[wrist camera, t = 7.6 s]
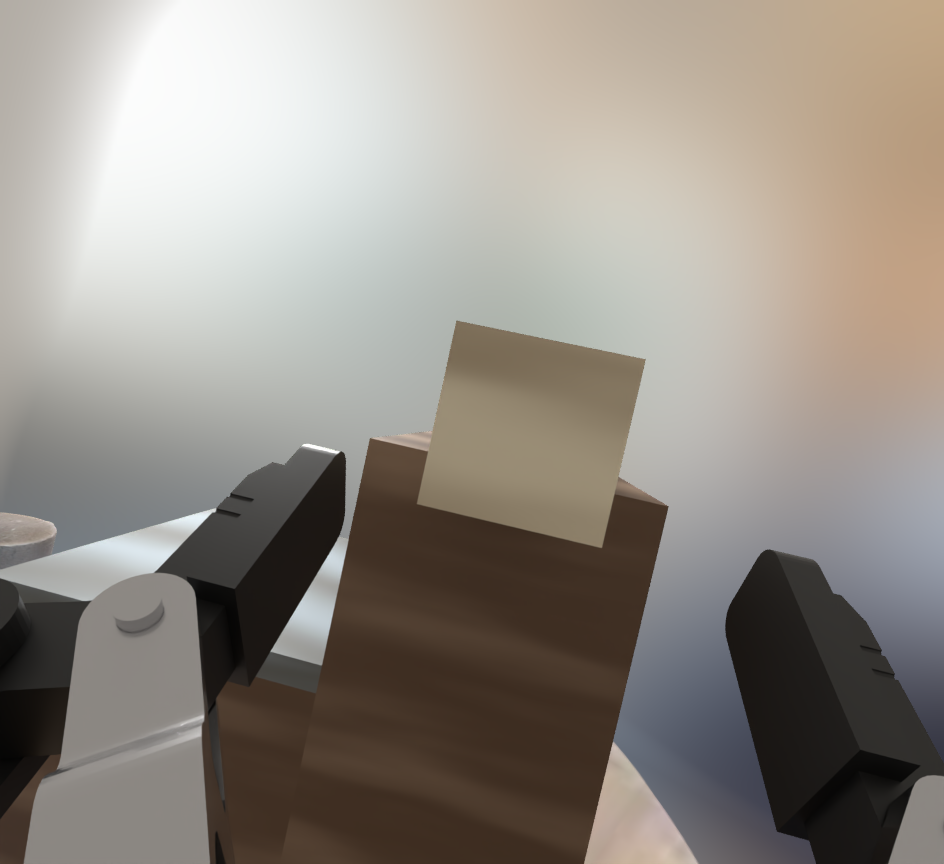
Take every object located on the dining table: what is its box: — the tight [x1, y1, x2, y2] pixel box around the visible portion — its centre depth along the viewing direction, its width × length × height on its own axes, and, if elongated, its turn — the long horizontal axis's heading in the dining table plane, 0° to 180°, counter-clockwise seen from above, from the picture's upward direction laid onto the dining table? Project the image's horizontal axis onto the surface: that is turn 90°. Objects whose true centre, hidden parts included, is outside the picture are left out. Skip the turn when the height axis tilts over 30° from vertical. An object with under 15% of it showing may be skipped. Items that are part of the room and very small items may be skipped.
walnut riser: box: [0, 431, 668, 864], centre depth 26 cm, size 15×23×32 cm, turn 85°
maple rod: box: [417, 321, 645, 548], centre depth 19 cm, size 22×3×3 cm, turn 175°
